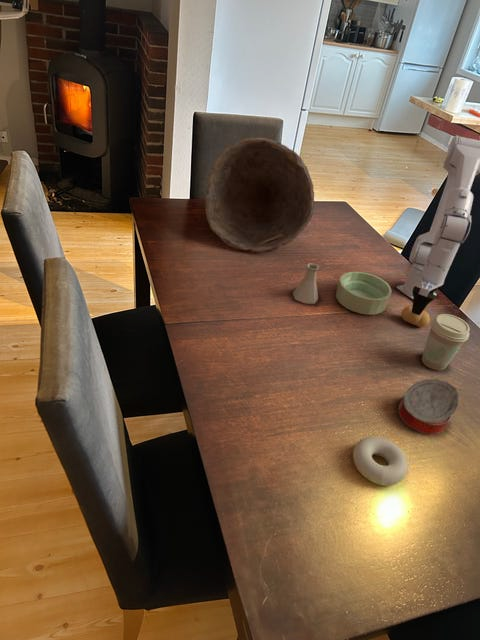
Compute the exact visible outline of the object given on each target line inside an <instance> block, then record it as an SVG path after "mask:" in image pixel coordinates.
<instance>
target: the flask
mask: <svg viewBox="0 0 480 640" xmlns="http://www.w3.org/2000/svg"><path fill="white" fill-rule="evenodd" d="M319 269H320V267H319V265H318V264H317V263H311V262H308V263H307V264H306V272H305V274H304V276H303V278H302V279H301V281H300V283H299V284H298V285H297V287H296V288H295V289H294V291H293V292H292V295H293V298H294V300H295V301H297V302H300V303H303V304H313V305H314V304H316V303H317V302H318V301H319V294H318V286H317V273H318V272H317V271H318V270H319Z"/></svg>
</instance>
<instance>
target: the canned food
mask: <svg viewBox="0 0 480 640" xmlns="http://www.w3.org/2000/svg"><path fill="white" fill-rule="evenodd" d="M458 405H459V393H458V390H457V388H456V387H454V386H453V385H452V384H451V383H450V382H448V381H445V380H441V379H437V378H435V379H433V378H432V379H427V378H426V379H422V380H420V381H416V382H415V383H413V384H412V385H411V386H409V387H408V388H407V390H406V392H405V393H403V396H402V398H401V401H400V403H399V404H398V407H397V409H398V414H399V415H398V416H399V417H400V419H401V420H402V421H403V422H404V424H405V425H407V427H409V428H411V429H412V430H414V431H416V432H419V433H421V434H424V435H437V434H440V433H442V432H443V431H444V430H445V428H446V426H447V425H448V423H449V421H450V420H451V417H452V415H454V414H455V412H456V410H457V408H458Z"/></svg>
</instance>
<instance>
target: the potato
mask: <svg viewBox="0 0 480 640" xmlns="http://www.w3.org/2000/svg"><path fill="white" fill-rule="evenodd" d="M412 306H413V305H408V306H405V307H404V308H402V311H401V318H402V319H403V321H404V322H407V323H408V324H411V325H414V326H416V327H419V328H423V327H426V326H428V325H429V323H430V321H431V317H430V314H429V312H427V311H425V310H423V312H422V313H421V314H420V315H416V314H414V313H412Z"/></svg>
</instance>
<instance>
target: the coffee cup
mask: <svg viewBox="0 0 480 640" xmlns="http://www.w3.org/2000/svg"><path fill="white" fill-rule="evenodd" d="M470 329H471V328H470V326H469V324H468V323H467V322H466V321H465V319H462V318H460V317H458V316H456V315H453V314H449V313H441V314H438V315H436V317H435V318H433V320H432V321H431V323H430V329H429V333H428V337H427V339H426V343H425V345H424V348H423V353H422V355H421V356H422V357H421V361H422V363H423V365H425V367H427V368H429V369H430V370H433V371H437V372H438V371H444V370H445V369H446V368H447V367H448V366H449V364H450V363H451V361H452V360H453V359H454V357H455V356H456V355H457V352H458V351H459V350H460V349H461V347H462V346H463V344H464V343H465V342H466V341H468V339H469V337H470Z"/></svg>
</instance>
